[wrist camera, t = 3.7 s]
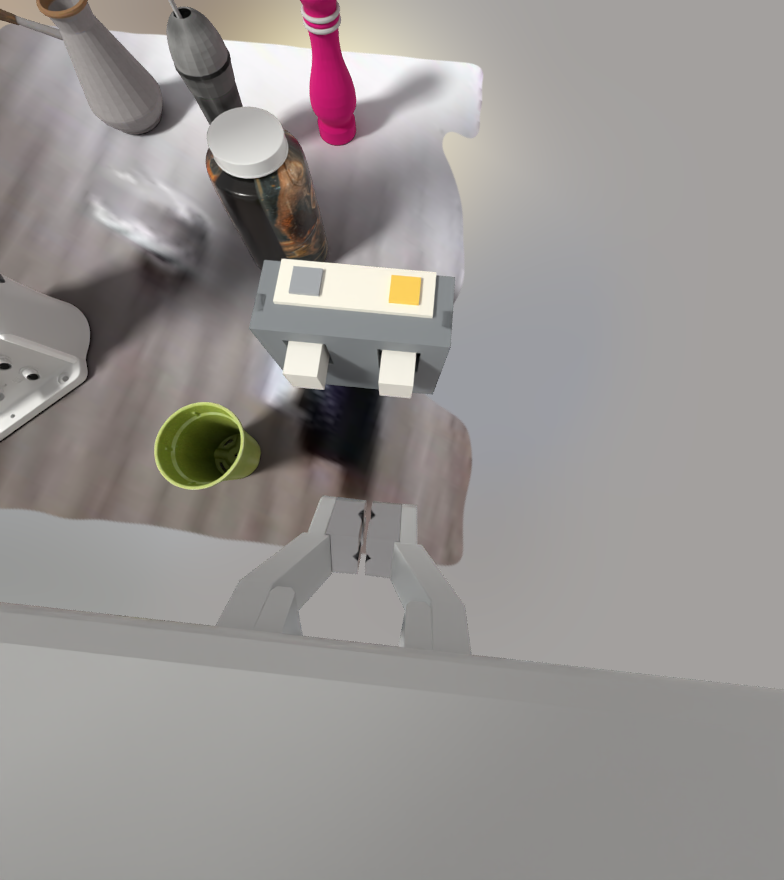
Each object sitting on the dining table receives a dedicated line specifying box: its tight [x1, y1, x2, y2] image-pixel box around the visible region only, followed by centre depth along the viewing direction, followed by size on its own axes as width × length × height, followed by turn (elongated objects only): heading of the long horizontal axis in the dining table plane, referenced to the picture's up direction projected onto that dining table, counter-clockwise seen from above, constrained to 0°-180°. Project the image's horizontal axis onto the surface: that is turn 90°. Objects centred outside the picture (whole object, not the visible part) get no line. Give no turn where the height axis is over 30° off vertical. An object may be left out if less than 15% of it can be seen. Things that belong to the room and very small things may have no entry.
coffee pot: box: [0, 0, 163, 134], centre depth 45 cm, size 21×12×15 cm, turn 100°
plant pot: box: [154, 402, 261, 490], centre depth 36 cm, size 9×9×9 cm
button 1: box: [283, 341, 330, 390], centre depth 34 cm, size 5×4×4 cm
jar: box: [206, 107, 328, 270], centre depth 40 cm, size 12×12×15 cm
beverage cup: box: [167, 0, 243, 125], centre depth 41 cm, size 7×7×20 cm
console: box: [249, 259, 455, 394], centre depth 37 cm, size 8×20×14 cm, turn 84°
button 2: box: [378, 350, 416, 398], centre depth 34 cm, size 5×4×4 cm
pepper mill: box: [300, 0, 356, 145], centre depth 43 cm, size 7×7×20 cm
